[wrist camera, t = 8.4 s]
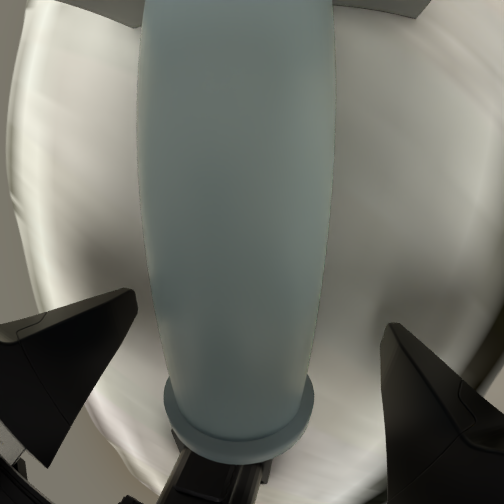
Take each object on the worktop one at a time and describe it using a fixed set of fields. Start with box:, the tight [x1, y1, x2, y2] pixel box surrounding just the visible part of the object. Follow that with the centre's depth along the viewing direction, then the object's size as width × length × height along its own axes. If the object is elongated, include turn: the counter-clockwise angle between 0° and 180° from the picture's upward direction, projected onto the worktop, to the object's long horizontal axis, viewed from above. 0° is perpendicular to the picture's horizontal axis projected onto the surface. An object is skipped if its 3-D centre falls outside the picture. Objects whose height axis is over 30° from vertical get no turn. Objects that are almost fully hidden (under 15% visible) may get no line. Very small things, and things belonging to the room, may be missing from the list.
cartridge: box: [137, 0, 336, 465], centre depth 6 cm, size 12×5×5 cm, turn 179°
